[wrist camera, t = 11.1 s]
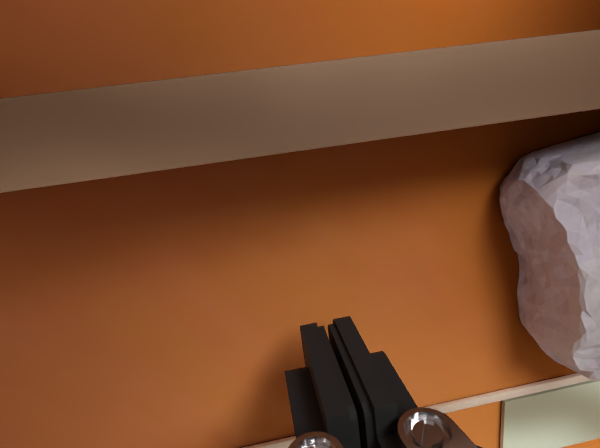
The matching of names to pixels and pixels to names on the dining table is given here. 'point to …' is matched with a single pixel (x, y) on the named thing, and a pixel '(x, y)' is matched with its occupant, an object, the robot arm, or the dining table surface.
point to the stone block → (558, 249)
